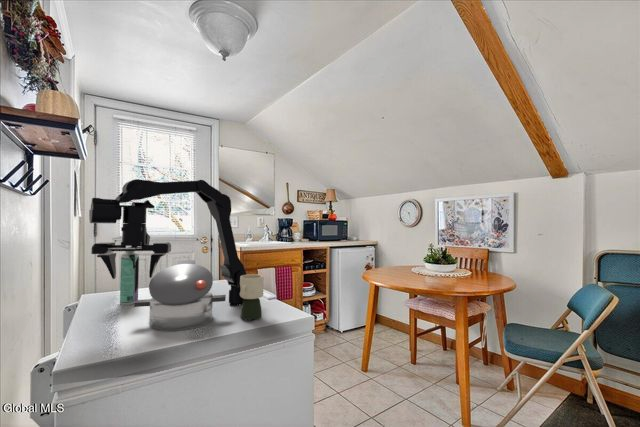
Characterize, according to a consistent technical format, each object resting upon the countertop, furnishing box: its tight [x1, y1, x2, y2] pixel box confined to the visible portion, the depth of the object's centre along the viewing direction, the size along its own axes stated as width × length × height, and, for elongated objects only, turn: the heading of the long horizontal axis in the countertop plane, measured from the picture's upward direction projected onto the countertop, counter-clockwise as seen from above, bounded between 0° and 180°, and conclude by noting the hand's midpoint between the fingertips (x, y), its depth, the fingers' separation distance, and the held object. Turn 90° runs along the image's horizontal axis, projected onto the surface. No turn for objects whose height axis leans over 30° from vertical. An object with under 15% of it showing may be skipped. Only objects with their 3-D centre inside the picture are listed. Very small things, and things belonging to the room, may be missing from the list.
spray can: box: [119, 246, 140, 306], centre depth 108 cm, size 6×6×20 cm
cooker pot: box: [133, 291, 227, 332], centre depth 90 cm, size 25×17×7 cm
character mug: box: [240, 273, 265, 321], centre depth 93 cm, size 11×7×13 cm, turn 163°
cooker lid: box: [148, 259, 214, 305], centre depth 89 cm, size 17×19×3 cm
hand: (132, 278), depth 86 cm, fingers open, 9 cm apart
